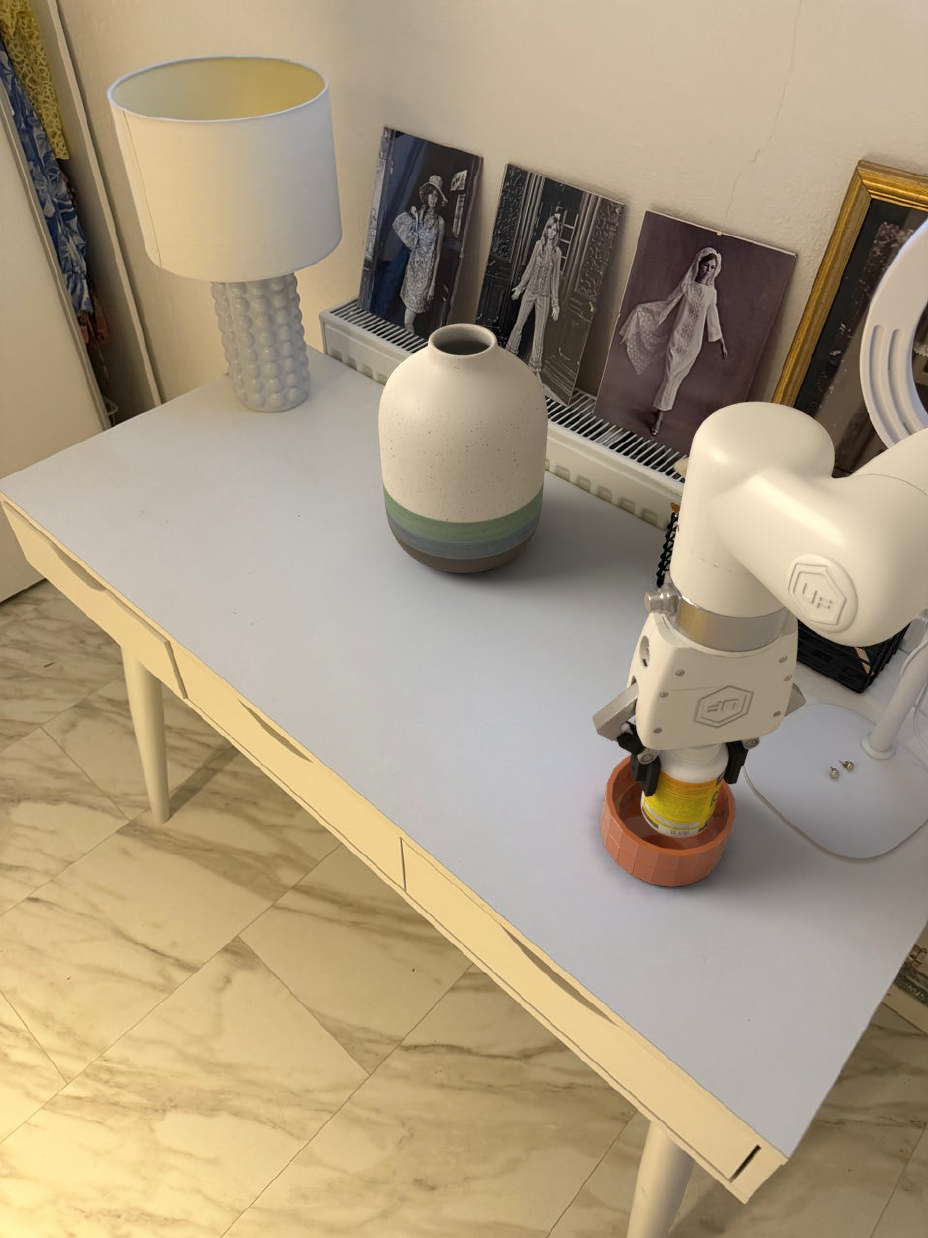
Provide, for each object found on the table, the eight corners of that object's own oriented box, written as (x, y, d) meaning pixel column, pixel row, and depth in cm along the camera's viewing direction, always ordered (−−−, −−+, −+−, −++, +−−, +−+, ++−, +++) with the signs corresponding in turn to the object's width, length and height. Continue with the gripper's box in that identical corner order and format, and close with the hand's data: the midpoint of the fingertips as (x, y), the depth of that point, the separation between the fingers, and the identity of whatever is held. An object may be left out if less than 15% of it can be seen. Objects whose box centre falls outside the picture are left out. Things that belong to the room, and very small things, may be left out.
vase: (551, 584, 98) (568, 381, 81) (390, 595, 97) (374, 392, 80) (527, 487, 110) (538, 293, 93) (384, 496, 109) (369, 301, 92)
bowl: (741, 879, 74) (755, 845, 70) (619, 897, 73) (626, 864, 69) (698, 776, 81) (709, 740, 77) (586, 791, 80) (592, 756, 76)
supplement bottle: (712, 846, 71) (737, 764, 64) (639, 837, 72) (655, 755, 65) (709, 786, 75) (732, 703, 68) (640, 778, 76) (655, 695, 69)
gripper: (608, 659, 54) (585, 834, 67) (886, 622, 56) (813, 799, 68) (576, 575, 59) (561, 752, 72) (831, 544, 61) (772, 721, 74)
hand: (684, 773), depth 70 cm, fingers closed on supplement bottle, 5 cm apart
